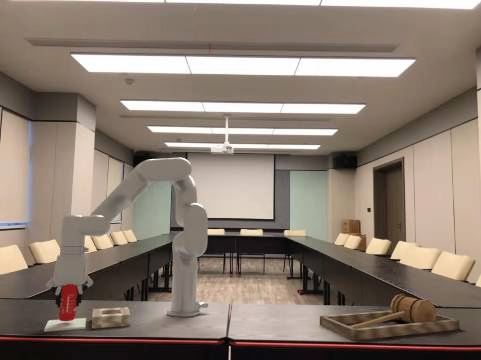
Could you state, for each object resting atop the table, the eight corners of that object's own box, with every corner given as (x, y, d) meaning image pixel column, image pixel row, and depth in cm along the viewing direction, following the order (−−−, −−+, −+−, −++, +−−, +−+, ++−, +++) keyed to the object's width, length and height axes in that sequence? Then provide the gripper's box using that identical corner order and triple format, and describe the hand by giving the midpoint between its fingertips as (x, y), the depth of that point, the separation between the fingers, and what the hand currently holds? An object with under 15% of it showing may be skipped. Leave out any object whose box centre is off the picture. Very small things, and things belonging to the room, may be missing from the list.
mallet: (331, 341, 129) (328, 311, 130) (411, 317, 144) (407, 291, 145) (355, 352, 118) (352, 320, 118) (438, 326, 133) (435, 297, 134)
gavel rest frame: (416, 316, 149) (416, 308, 149) (459, 329, 131) (459, 320, 131) (319, 324, 133) (319, 316, 133) (354, 340, 115) (354, 330, 115)
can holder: (127, 317, 137) (127, 307, 138) (130, 325, 126) (130, 314, 127) (92, 319, 133) (92, 309, 133) (91, 328, 122) (92, 317, 122)
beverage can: (68, 322, 122) (72, 284, 123) (54, 320, 123) (58, 283, 124) (78, 318, 127) (82, 282, 128) (65, 317, 128) (68, 281, 130)
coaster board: (86, 319, 132) (86, 318, 132) (85, 328, 121) (85, 326, 121) (48, 322, 128) (48, 320, 128) (43, 331, 117) (44, 329, 117)
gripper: (98, 250, 134) (95, 302, 132) (45, 250, 128) (41, 305, 126) (98, 251, 127) (95, 307, 125) (42, 252, 121) (38, 310, 119)
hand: (68, 305), depth 126 cm, fingers closed on beverage can, 5 cm apart
